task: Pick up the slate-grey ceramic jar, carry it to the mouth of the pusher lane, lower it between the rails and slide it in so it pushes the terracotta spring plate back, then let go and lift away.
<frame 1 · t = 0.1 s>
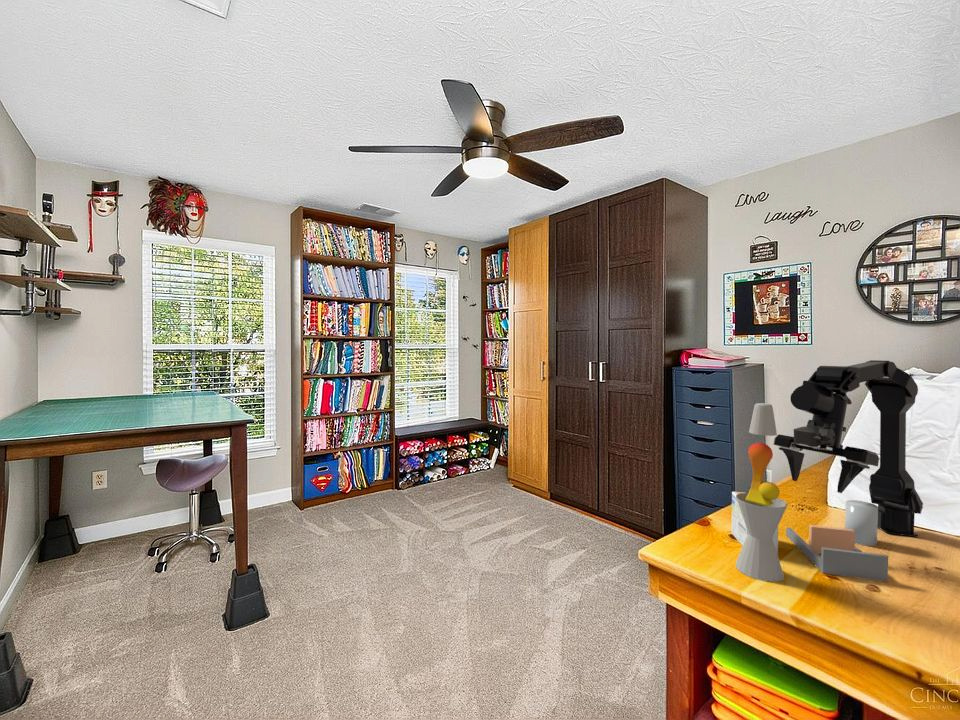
hand: (816, 486, 100), 15 cm above the table, tool pointing down, fingers open, 9 cm apart
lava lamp: (759, 571, 92), on the table
pusher lane: (831, 555, 100), on the table
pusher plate: (831, 541, 100), point 3 cm above the table, slide at 0.0 cm
light bulb box: (752, 544, 106), on the table
jar: (860, 540, 108), on the table
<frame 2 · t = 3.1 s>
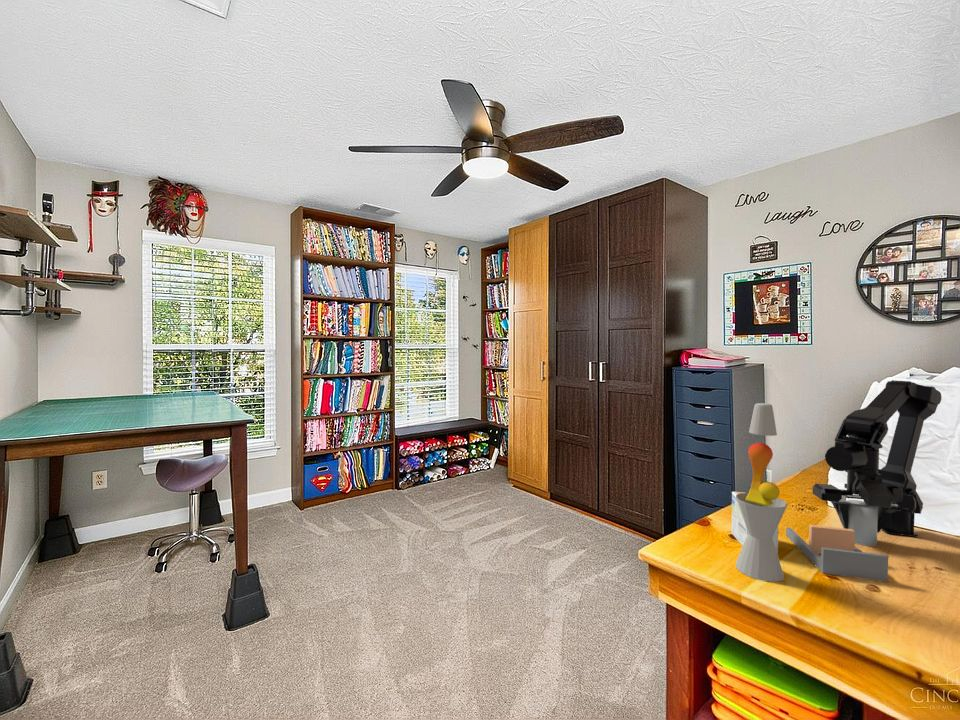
hand: (860, 530, 108), 3 cm above the table, tool pointing down, fingers closed on jar, 6 cm apart
jar: (860, 540, 108), on the table, touching gripper
everything else where it was.
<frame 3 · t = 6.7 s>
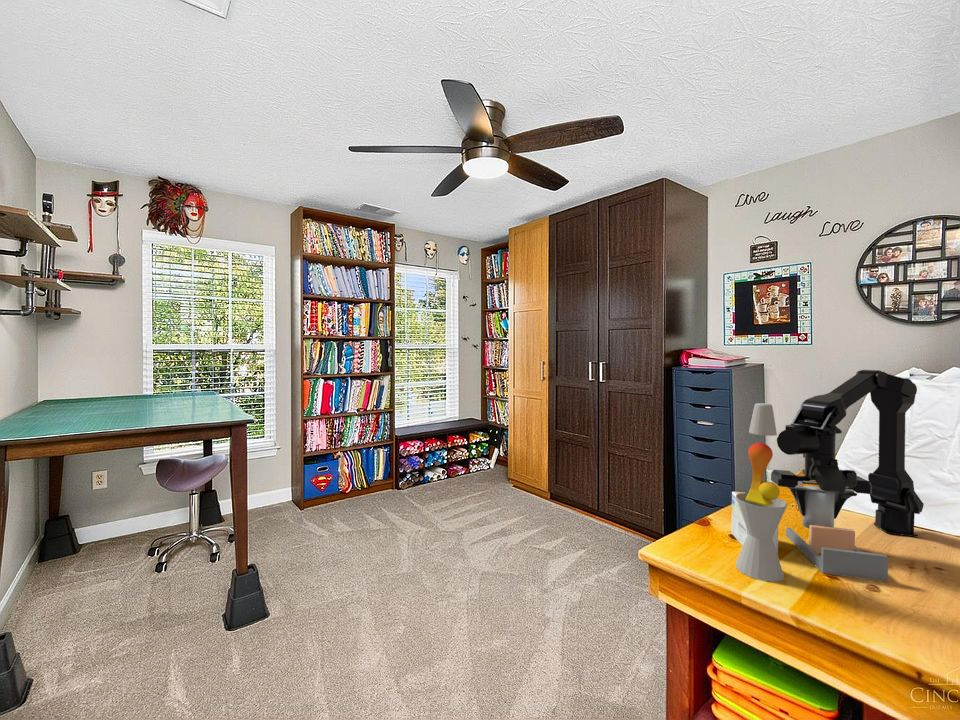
hand: (818, 516, 106), 6 cm above the table, tool pointing down, fingers closed on jar, 6 cm apart
jar: (817, 527, 106), point 4 cm above the table, touching gripper
everything else where it was.
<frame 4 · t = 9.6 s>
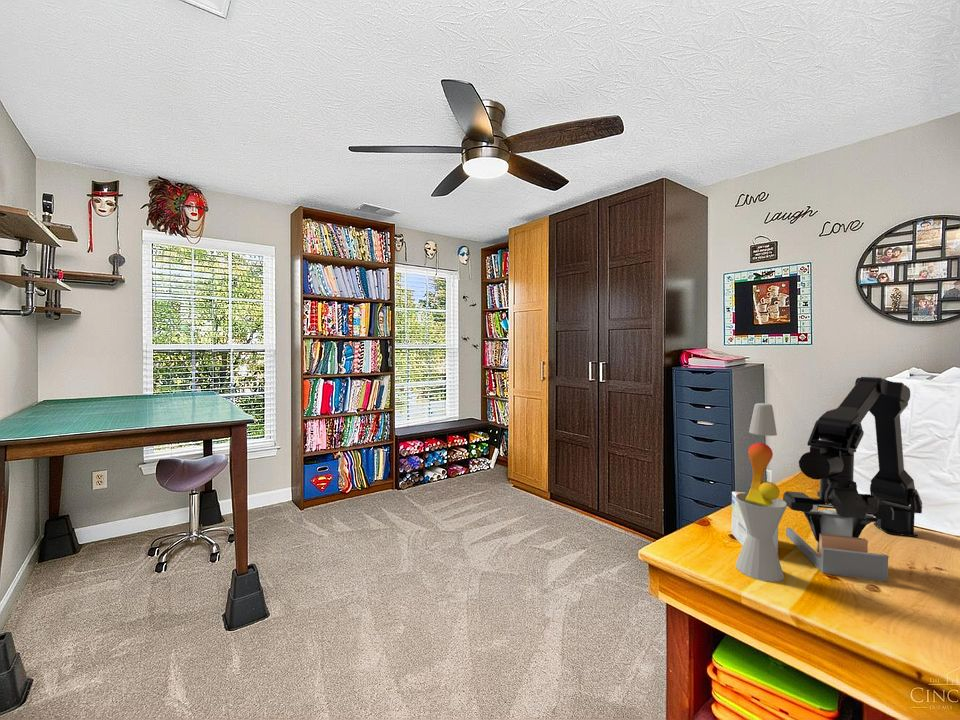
hand: (834, 543, 98), 3 cm above the table, tool pointing down, fingers closed on jar, 6 cm apart
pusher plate: (842, 550, 95), point 3 cm above the table, slide at 5.1 cm, touching jar
jar: (834, 554, 98), point 1 cm above the table, touching gripper, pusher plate
everything else where it was.
when the fingers open (3 cm above the table, at t = 10.6 s): jar stays where it is, resting in pusher lane.
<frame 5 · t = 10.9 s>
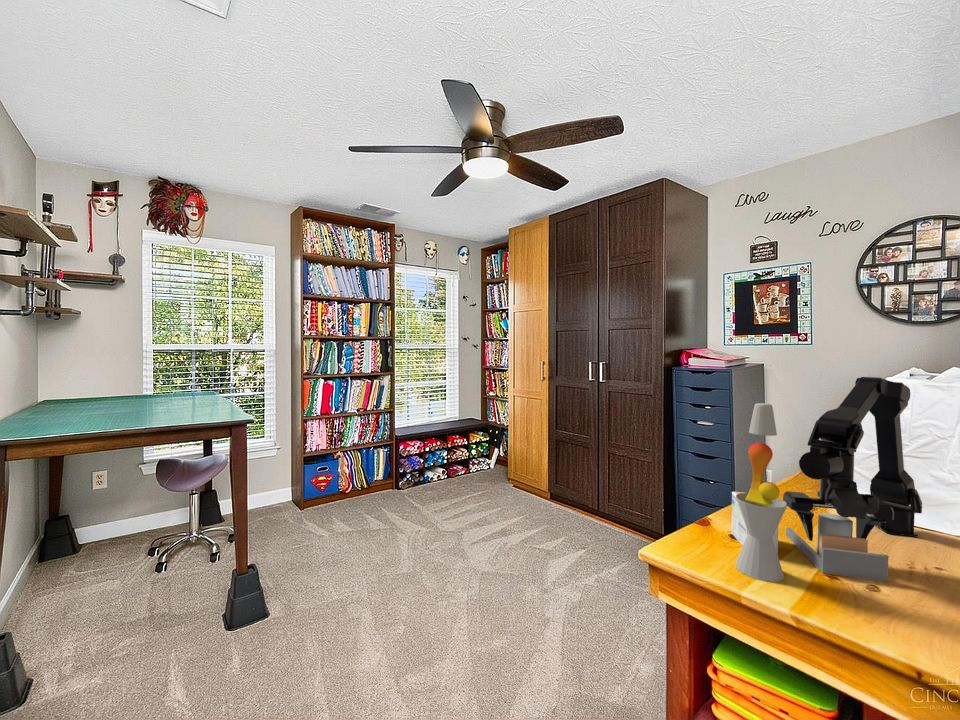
hand: (834, 543, 98), 3 cm above the table, tool pointing down, fingers open, 9 cm apart
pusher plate: (842, 551, 95), point 3 cm above the table, slide at 5.1 cm
jar: (833, 558, 98), resting in pusher lane
everything else where it was.
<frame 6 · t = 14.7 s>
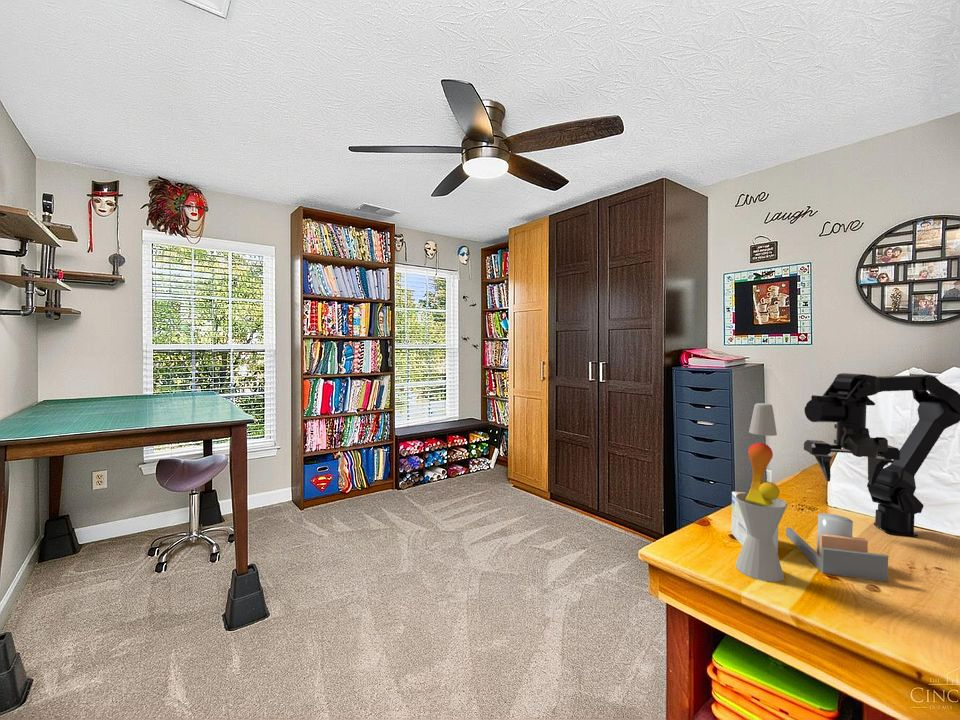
hand: (849, 482, 114), 13 cm above the table, tool pointing down, fingers open, 9 cm apart
nothing on the table moved.
at the end: jar inside the target area (0.6 cm from its centre), resting in pusher lane; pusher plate slide at 5.1 cm; jar tilted 0° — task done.
